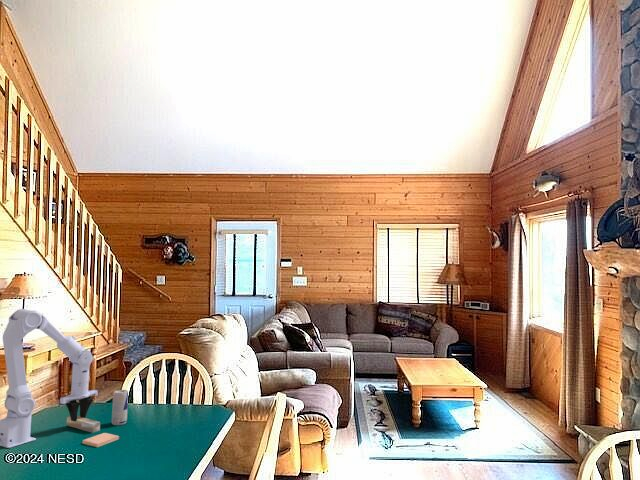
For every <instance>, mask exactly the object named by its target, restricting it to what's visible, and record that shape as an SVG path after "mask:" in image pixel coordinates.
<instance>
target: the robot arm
mask: <svg viewBox="0 0 640 480" xmlns="http://www.w3.org/2000/svg"><path fill="white" fill-rule="evenodd" d="M36 329H37V330H40V331H42V332H43V333H44V334H46V335H47V336H48V337H49V338H50V339H52V340H53V341H54V342H56V347H57V349H58V350H59V351H60V352H61V353H63V355H64V356H67V358H69V361H70V363H72V372H71V391H70V394H68V395H66V396H62V397H59V398H60V399H59V404H61V405H65V406H66V408H67V410H68V413H69V416H70V417H71V421H76V420H77V416H78V412H79V417H83V418H87V413H88V411H89V409H90V406H91V405H92V403H93V402H94V398H93V397H98V394H99V393H98V392H99V390H97V389H91V390H89V382H90V367H91V364H92V362H93V361H94V356H93V354H92V352H91V351H90V350H87V349H85V346H84V345H83V344H80V343H79V342H78V341H77V340H76V339H77V338H76V337H75V336H71V335H64V333H62V332H61V331H60V330H59V329H58V328H57V327H56V326H55V325H54V324H53V323H52V322H51V321H50V320H49V319H48V318H47V317H46V316H45V315H43V314H41V312H39V311H37V310H29V309H26V308H20V309H17V310H15V311H14V312H13V313H12V314H11V315H10V316H9V317H8V323H7V325H6V327H5V330H4V332H3V335H2V343H3V351H4V353H3V354H4V358H5V360H4V361H5V365H6V366H5V367H6V374H7V383H8V389H7V390H6V391H5V393H6V394H5V395H6V397H5V400H4V408H5V409H6V411H7V412H6V416H5V417H3V418H1V419H0V447H4V448H6V449H7V448H8V449H10V448H14V447H17V446H20V445H23V444H26V443H27V444H28V443H30V442H34V441H36V440H37V438H35V437H32V436H31V429H32V416H33V415H32V412H34V410H35V407H36V399H35V398H34V397H33V396H32V391H31V389H30V388H29V386H28V382H27V381H28V380H27V374H26V365H25V358H24V350H23V341H22V340H23V339H24V338H25V337H26V336H27V335H28V334H29V333H31V332H32V331H34V330H36Z"/></svg>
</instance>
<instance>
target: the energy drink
mask: <svg viewBox="0 0 640 480" xmlns="http://www.w3.org/2000/svg"><path fill="white" fill-rule="evenodd" d="M128 402H129V392H128V390H127V389H118V390H114V391H113V393H112V411H111V425H113V426H122V425H125V424H126V423H127V421H128V407H129V406H128V405H129V404H128Z"/></svg>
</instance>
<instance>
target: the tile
mask: <svg viewBox="0 0 640 480" xmlns="http://www.w3.org/2000/svg"><path fill="white" fill-rule="evenodd" d="M117 440H120V436H119V435H116V434H112V433H108V432H103V433H100V434H97V435H93V436H91V437H88V438H86V439H82V445H87V446H91V447H96V448H99V447H102V446H105V445H108V444H109V443H112V442H115V441H117Z"/></svg>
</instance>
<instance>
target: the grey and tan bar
mask: <svg viewBox="0 0 640 480" xmlns="http://www.w3.org/2000/svg"><path fill="white" fill-rule="evenodd" d="M66 426H68V427H70V428H75V429H78V430H80V431H84V432H88V433H91V434H94V433H97V432H100V431H101V422H100V421H97V420H93V419H90V418H87V417H85V418H83V417H80V415H77V420H76V421H71V417H70V415H68V416H67V417H66Z"/></svg>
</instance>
